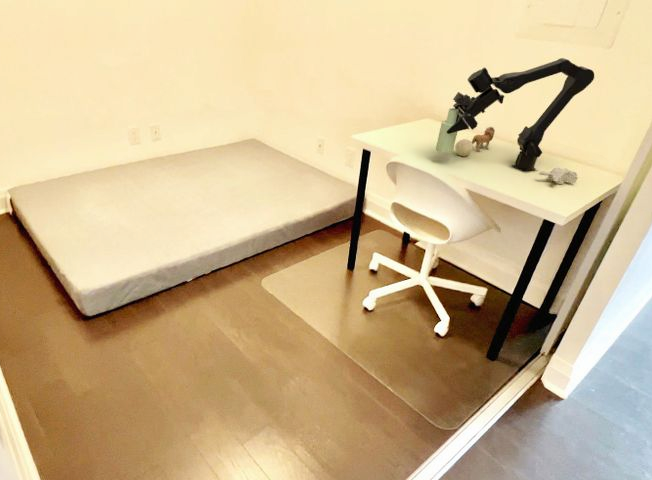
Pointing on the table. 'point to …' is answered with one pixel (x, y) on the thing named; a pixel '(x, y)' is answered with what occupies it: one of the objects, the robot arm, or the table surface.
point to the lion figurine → (484, 138)
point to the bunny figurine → (561, 175)
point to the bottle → (445, 139)
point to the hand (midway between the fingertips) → (445, 130)
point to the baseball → (464, 147)
